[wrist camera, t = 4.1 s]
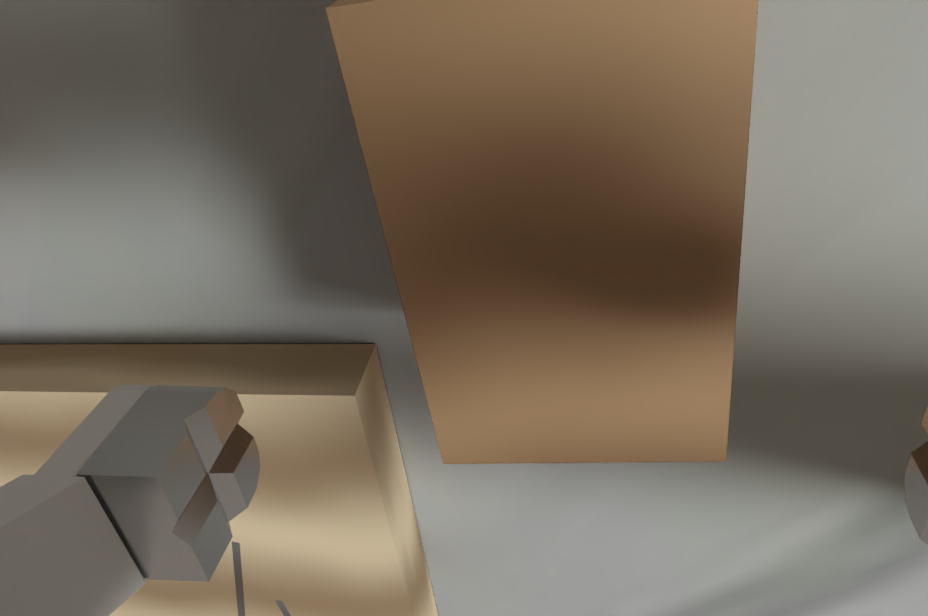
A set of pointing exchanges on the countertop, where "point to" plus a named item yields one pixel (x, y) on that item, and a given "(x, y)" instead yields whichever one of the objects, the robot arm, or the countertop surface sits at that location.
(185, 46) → the countertop surface
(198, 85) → the countertop surface
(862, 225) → the countertop surface
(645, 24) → the block
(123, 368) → the pine board
